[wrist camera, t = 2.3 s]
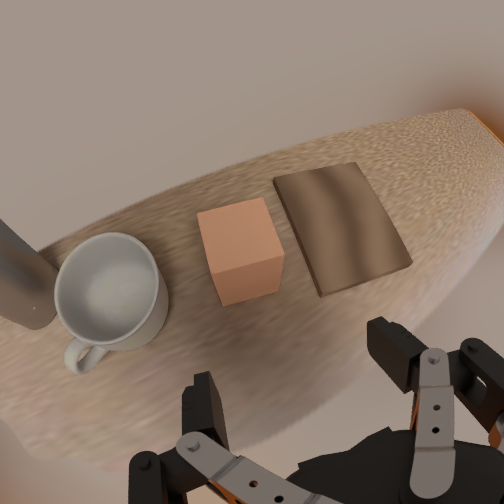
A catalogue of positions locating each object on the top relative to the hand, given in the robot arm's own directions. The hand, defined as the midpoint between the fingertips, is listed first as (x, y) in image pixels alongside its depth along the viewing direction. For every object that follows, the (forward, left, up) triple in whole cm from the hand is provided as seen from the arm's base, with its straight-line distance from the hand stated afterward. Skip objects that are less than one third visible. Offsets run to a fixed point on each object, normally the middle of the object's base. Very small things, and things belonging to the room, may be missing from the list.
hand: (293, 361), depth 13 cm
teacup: (-14, +10, -16) cm, 23 cm away
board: (+13, +15, -15) cm, 25 cm away
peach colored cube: (0, +12, -15) cm, 19 cm away
